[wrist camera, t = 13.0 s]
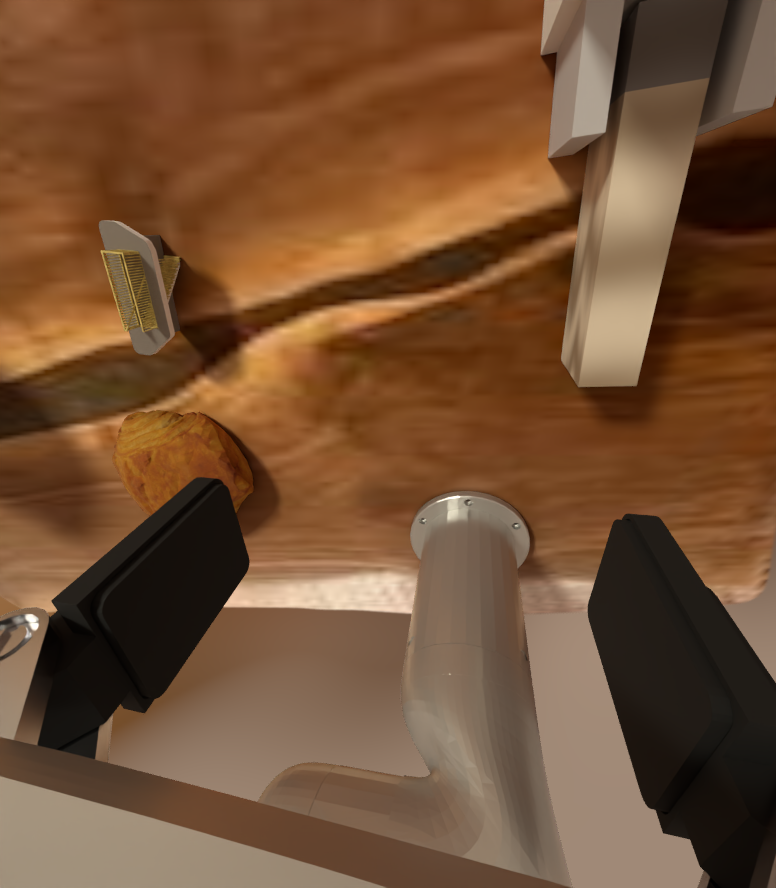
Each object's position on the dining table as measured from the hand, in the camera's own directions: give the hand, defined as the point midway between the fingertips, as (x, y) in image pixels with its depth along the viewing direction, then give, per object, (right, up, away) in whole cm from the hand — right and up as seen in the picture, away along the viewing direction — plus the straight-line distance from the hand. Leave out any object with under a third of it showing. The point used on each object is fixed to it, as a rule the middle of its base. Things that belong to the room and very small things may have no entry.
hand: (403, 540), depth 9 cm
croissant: (-22, 0, +35) cm, 41 cm away
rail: (+14, +17, +16) cm, 28 cm away
